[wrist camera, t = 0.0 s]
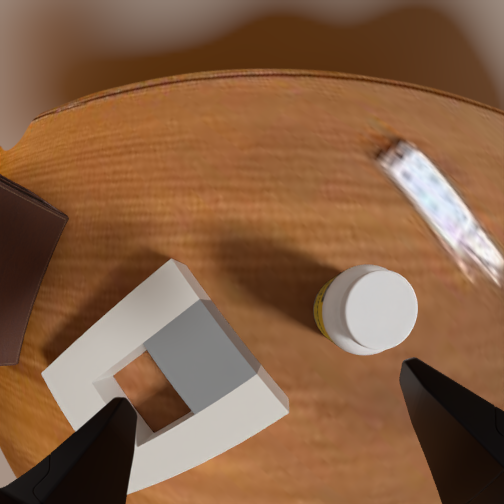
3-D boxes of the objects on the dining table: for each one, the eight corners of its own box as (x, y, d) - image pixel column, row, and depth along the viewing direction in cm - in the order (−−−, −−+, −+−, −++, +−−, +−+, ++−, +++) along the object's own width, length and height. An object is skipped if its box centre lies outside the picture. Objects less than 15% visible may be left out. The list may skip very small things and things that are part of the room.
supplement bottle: (320, 269, 23) (345, 242, 14) (382, 284, 23) (439, 268, 13) (304, 334, 22) (318, 352, 13) (366, 348, 22) (416, 371, 12)
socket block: (288, 398, 22) (289, 412, 18) (140, 479, 21) (125, 494, 18) (186, 265, 25) (171, 258, 21) (62, 369, 24) (41, 373, 21)
